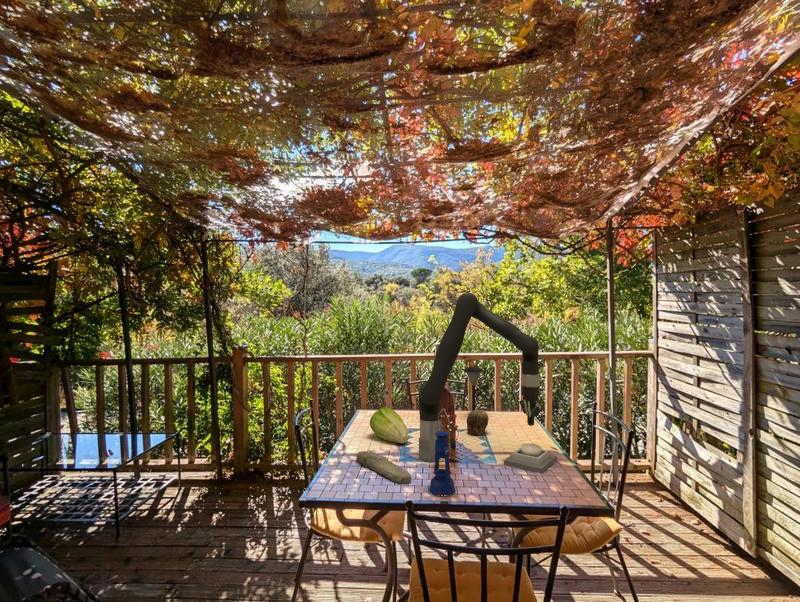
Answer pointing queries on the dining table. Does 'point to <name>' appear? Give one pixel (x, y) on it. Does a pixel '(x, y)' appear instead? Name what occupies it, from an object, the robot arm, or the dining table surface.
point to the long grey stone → (384, 467)
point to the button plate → (531, 461)
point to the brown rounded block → (477, 422)
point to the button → (531, 450)
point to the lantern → (442, 480)
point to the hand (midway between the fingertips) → (530, 425)
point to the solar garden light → (473, 380)
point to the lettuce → (389, 426)
